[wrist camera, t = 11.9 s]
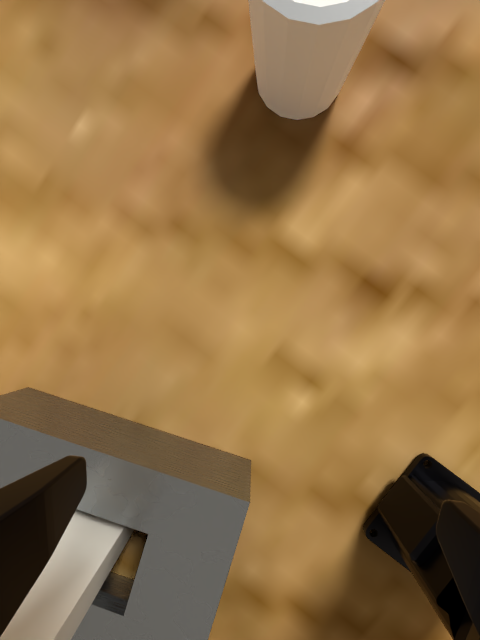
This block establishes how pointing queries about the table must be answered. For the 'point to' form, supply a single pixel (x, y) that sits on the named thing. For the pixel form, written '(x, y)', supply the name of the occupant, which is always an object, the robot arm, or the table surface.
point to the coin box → (139, 510)
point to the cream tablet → (69, 580)
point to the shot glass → (307, 50)
